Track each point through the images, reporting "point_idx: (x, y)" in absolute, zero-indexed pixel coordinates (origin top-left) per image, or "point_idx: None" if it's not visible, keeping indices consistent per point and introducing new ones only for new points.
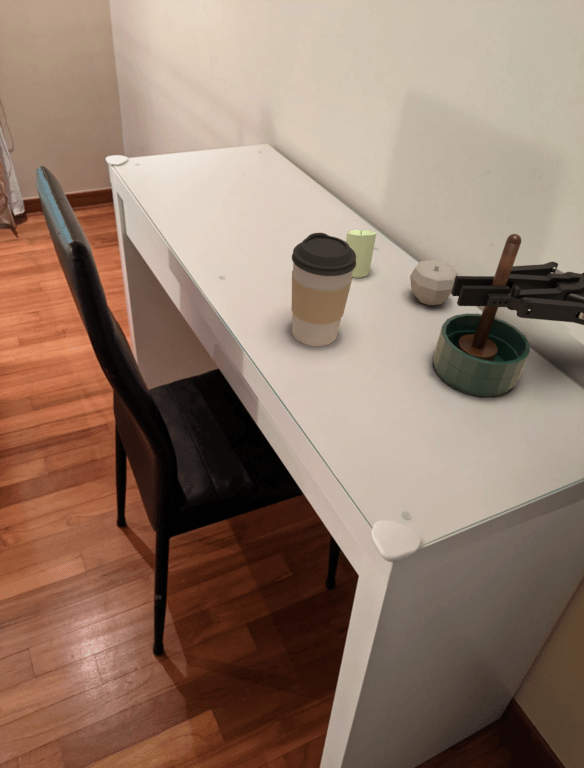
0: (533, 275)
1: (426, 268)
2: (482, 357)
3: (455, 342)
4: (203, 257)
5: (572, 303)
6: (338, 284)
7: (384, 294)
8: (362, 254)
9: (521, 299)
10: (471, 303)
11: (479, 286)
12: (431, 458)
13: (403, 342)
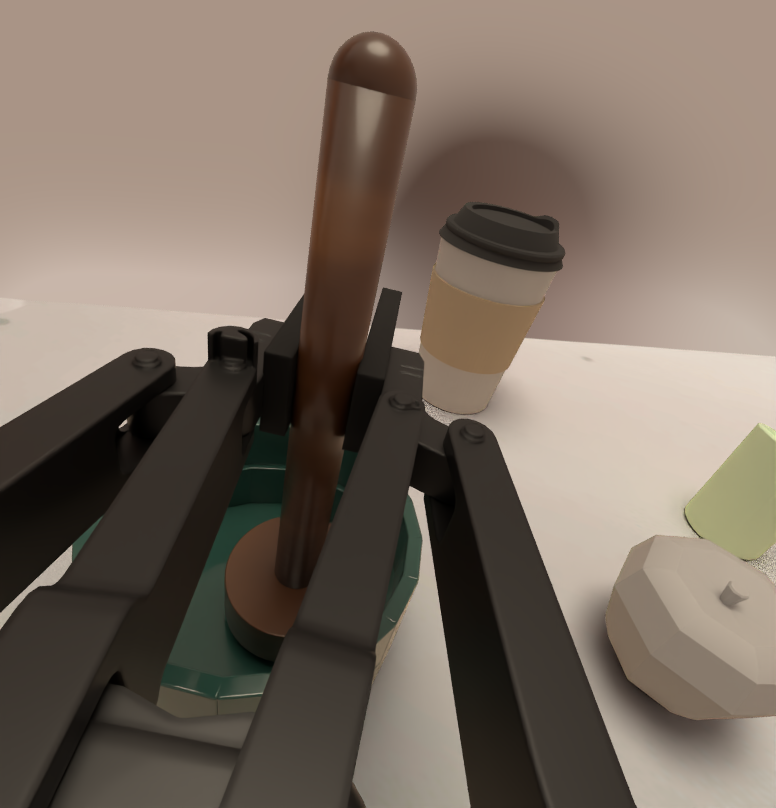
0: (394, 546)
1: (706, 557)
2: (233, 548)
3: None
4: (637, 360)
5: None
6: (441, 263)
7: None
8: (730, 476)
9: (188, 380)
10: None
11: None
12: (62, 386)
13: (418, 497)
